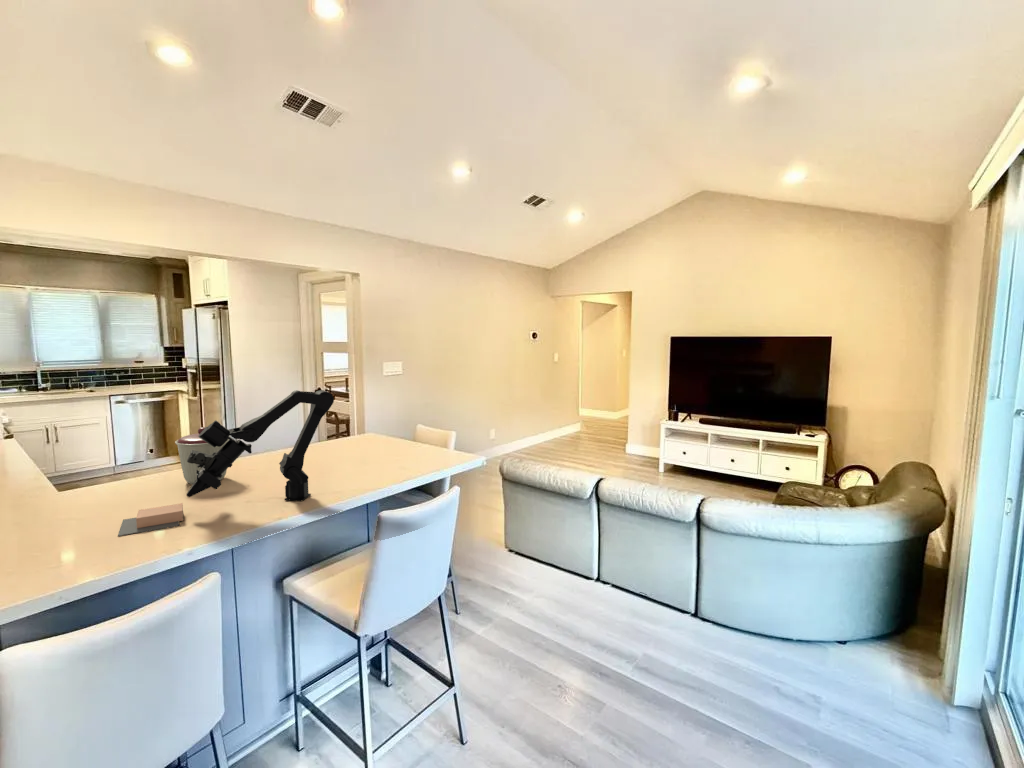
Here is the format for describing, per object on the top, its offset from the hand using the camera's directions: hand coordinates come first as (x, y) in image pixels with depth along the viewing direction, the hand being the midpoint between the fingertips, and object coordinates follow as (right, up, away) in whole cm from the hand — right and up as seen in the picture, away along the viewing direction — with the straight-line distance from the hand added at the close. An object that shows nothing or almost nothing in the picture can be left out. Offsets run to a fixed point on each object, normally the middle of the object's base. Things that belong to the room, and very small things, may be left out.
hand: (187, 496), depth 146 cm
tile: (-1, -5, 0) cm, 5 cm away
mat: (-8, -7, -5) cm, 12 cm away
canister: (-19, -3, +37) cm, 42 cm away
